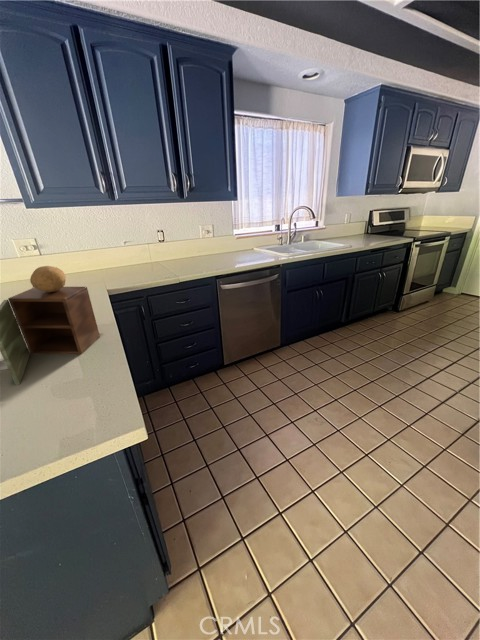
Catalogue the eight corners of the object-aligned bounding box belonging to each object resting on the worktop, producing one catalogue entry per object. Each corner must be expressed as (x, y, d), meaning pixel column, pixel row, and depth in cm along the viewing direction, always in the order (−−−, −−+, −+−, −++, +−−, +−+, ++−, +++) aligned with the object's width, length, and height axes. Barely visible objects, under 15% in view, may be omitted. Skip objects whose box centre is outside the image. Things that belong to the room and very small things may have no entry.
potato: (64, 283, 95) (58, 261, 92) (73, 292, 86) (66, 268, 82) (31, 289, 89) (23, 265, 86) (37, 299, 80) (28, 274, 76)
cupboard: (81, 354, 89) (65, 298, 81) (30, 353, 90) (7, 298, 81) (100, 337, 100) (86, 286, 91) (53, 336, 101) (36, 286, 92)
